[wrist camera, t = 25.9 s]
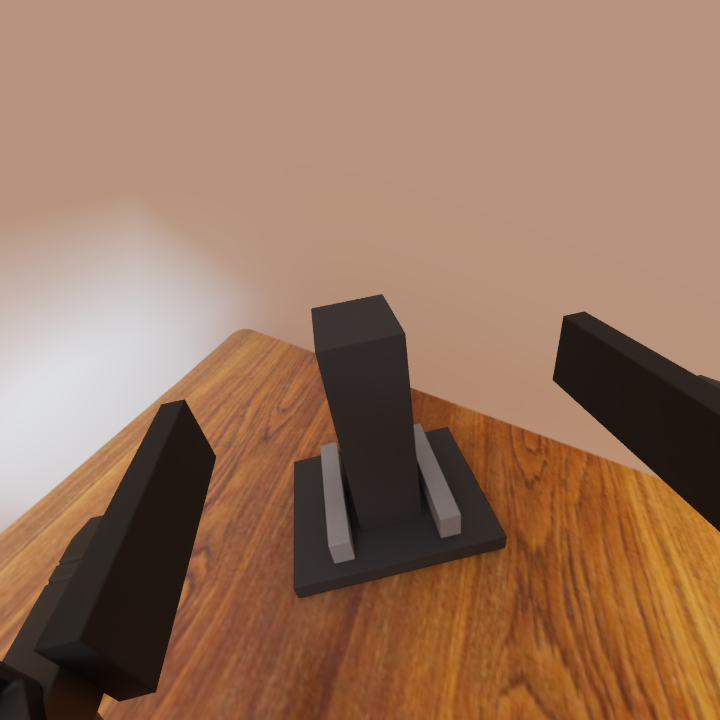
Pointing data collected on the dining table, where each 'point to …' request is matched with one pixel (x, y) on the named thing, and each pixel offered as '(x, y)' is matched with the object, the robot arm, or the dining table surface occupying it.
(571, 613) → the dining table surface
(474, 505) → the base pad
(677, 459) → the robot arm
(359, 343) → the standing block
